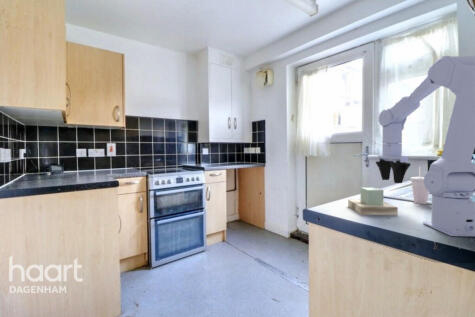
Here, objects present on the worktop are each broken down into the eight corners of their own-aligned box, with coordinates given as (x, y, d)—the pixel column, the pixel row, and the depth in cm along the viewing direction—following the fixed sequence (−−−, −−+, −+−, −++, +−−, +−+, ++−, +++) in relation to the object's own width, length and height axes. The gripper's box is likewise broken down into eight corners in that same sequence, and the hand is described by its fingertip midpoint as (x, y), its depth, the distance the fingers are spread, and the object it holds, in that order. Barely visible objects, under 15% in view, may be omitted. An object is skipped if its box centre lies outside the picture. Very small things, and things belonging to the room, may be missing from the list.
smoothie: (423, 201, 89) (423, 165, 88) (436, 205, 82) (436, 167, 82) (406, 201, 89) (406, 166, 89) (417, 205, 83) (417, 167, 82)
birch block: (397, 216, 72) (397, 207, 72) (361, 216, 73) (361, 207, 73) (379, 207, 83) (379, 199, 83) (348, 207, 84) (348, 199, 84)
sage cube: (383, 204, 75) (383, 190, 75) (368, 204, 75) (368, 190, 75) (374, 201, 80) (374, 187, 80) (360, 201, 80) (360, 187, 80)
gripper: (418, 142, 72) (417, 184, 73) (391, 143, 87) (391, 178, 87) (395, 143, 73) (395, 184, 74) (372, 144, 87) (372, 178, 88)
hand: (391, 181), depth 81 cm, fingers open, 7 cm apart
